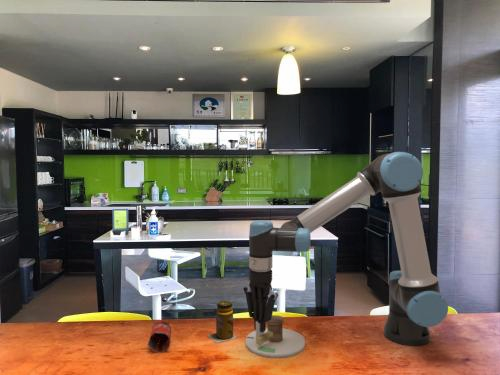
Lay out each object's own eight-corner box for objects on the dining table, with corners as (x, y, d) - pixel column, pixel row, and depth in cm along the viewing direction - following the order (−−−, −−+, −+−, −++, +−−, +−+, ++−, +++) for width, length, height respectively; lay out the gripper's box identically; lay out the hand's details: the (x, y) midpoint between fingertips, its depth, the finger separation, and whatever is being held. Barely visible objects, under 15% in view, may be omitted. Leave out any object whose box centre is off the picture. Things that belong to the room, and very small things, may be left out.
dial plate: (305, 333, 141) (305, 329, 141) (304, 360, 121) (304, 354, 121) (250, 330, 144) (250, 325, 144) (240, 355, 125) (240, 350, 125)
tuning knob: (272, 333, 137) (272, 314, 137) (287, 338, 133) (287, 317, 133) (250, 346, 127) (250, 325, 127) (265, 351, 123) (265, 329, 123)
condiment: (238, 337, 138) (237, 304, 138) (216, 343, 134) (216, 308, 133) (227, 330, 144) (227, 298, 144) (206, 336, 140) (206, 302, 139)
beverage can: (172, 337, 139) (171, 318, 139) (170, 352, 127) (170, 332, 127) (151, 338, 138) (151, 319, 138) (147, 354, 126) (147, 333, 126)
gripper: (238, 267, 128) (237, 338, 129) (269, 274, 120) (268, 350, 121) (253, 263, 134) (252, 331, 135) (283, 270, 125) (282, 342, 127)
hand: (259, 340), depth 128 cm, fingers closed
